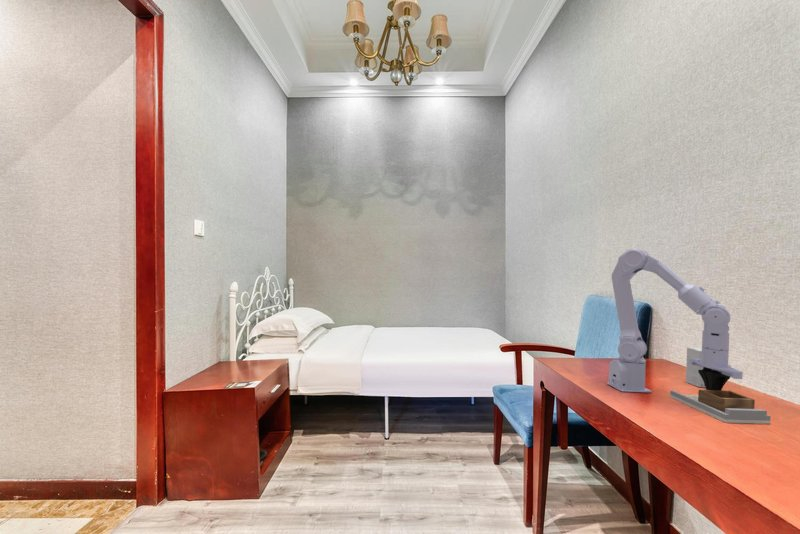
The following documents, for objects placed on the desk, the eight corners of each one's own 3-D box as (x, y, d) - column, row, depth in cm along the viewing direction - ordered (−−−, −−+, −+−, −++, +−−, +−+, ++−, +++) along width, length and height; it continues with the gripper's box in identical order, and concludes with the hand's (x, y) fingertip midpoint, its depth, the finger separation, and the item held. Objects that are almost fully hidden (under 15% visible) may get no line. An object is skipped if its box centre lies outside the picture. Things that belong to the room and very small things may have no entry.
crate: (720, 414, 95) (721, 398, 95) (698, 404, 102) (698, 389, 102) (754, 415, 95) (754, 399, 95) (729, 405, 102) (729, 390, 102)
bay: (725, 422, 92) (725, 409, 92) (670, 396, 110) (670, 386, 110) (770, 423, 92) (770, 411, 92) (707, 398, 110) (708, 387, 110)
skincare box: (712, 388, 120) (713, 351, 120) (698, 387, 120) (700, 351, 120) (697, 382, 126) (698, 347, 126) (684, 381, 126) (686, 346, 126)
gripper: (754, 355, 96) (752, 407, 96) (706, 343, 110) (704, 388, 110) (728, 354, 96) (726, 406, 96) (683, 342, 110) (681, 388, 110)
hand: (713, 397), depth 103 cm, fingers closed
